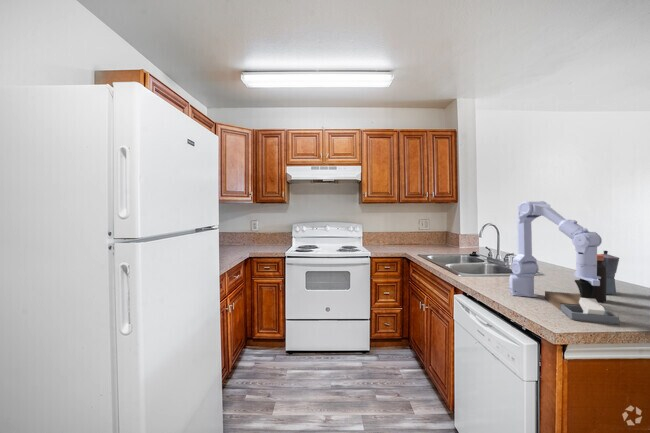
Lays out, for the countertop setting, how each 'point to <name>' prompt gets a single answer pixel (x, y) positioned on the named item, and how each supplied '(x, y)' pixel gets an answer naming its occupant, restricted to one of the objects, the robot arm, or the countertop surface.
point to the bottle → (601, 272)
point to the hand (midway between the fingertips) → (585, 299)
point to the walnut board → (562, 298)
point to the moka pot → (610, 272)
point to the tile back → (587, 302)
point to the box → (588, 315)
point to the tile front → (594, 309)
